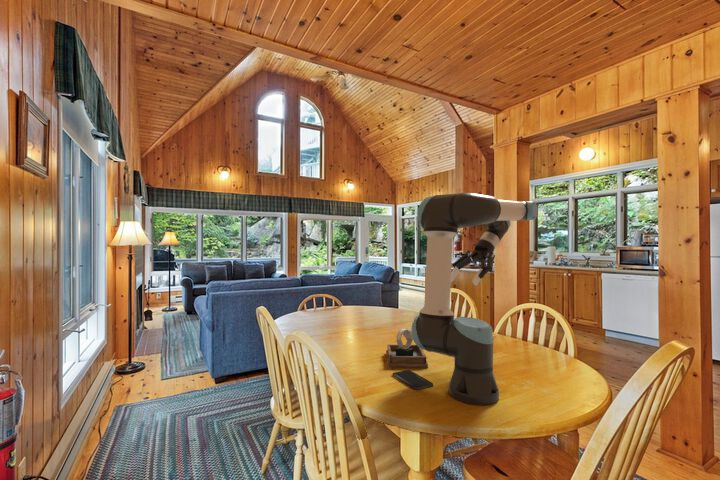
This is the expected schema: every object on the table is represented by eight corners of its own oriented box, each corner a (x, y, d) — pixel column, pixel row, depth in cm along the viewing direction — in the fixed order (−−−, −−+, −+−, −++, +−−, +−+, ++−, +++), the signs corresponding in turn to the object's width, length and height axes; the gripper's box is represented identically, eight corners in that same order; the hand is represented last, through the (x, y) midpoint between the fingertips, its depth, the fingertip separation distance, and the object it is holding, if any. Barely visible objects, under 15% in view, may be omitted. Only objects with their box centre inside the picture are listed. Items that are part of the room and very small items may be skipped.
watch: (416, 355, 147) (416, 328, 147) (403, 360, 141) (403, 332, 141) (405, 352, 151) (405, 326, 150) (392, 356, 145) (392, 329, 145)
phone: (415, 388, 117) (391, 373, 130) (415, 392, 117) (391, 376, 130) (434, 384, 120) (409, 369, 134) (434, 387, 120) (409, 372, 134)
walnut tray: (427, 368, 137) (427, 357, 137) (388, 367, 137) (388, 357, 137) (421, 353, 154) (421, 344, 154) (386, 353, 154) (386, 344, 154)
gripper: (515, 251, 146) (490, 291, 139) (469, 250, 168) (445, 284, 160) (507, 238, 143) (480, 278, 136) (461, 238, 165) (436, 273, 158)
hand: (461, 281), depth 148 cm, fingers open, 13 cm apart
